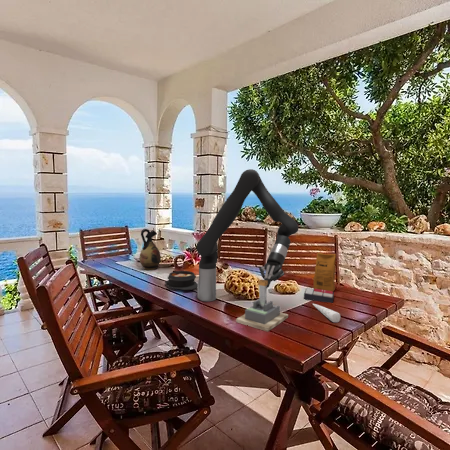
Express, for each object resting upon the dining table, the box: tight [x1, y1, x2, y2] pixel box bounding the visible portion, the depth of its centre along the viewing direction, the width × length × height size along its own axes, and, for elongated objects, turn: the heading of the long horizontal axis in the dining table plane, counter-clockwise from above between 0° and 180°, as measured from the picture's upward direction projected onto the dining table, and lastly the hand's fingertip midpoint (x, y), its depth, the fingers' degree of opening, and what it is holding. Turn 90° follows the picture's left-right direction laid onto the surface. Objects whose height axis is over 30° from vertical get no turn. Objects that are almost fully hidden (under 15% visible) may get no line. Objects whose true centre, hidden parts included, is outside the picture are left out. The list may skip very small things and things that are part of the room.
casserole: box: [164, 270, 198, 291], centre depth 195 cm, size 25×19×8 cm
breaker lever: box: [257, 279, 268, 307], centre depth 146 cm, size 3×4×12 cm
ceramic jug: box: [139, 228, 162, 271], centre depth 239 cm, size 17×15×30 cm
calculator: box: [303, 287, 335, 304], centre depth 177 cm, size 11×4×15 cm
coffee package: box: [312, 252, 337, 292], centre depth 191 cm, size 10×12×22 cm
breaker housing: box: [244, 298, 281, 324], centre depth 146 cm, size 14×10×7 cm
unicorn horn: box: [312, 303, 341, 323], centre depth 156 cm, size 5×24×5 cm, turn 7°
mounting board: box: [235, 311, 289, 333], centre depth 147 cm, size 19×16×2 cm
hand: (264, 287), depth 146 cm, fingers closed
